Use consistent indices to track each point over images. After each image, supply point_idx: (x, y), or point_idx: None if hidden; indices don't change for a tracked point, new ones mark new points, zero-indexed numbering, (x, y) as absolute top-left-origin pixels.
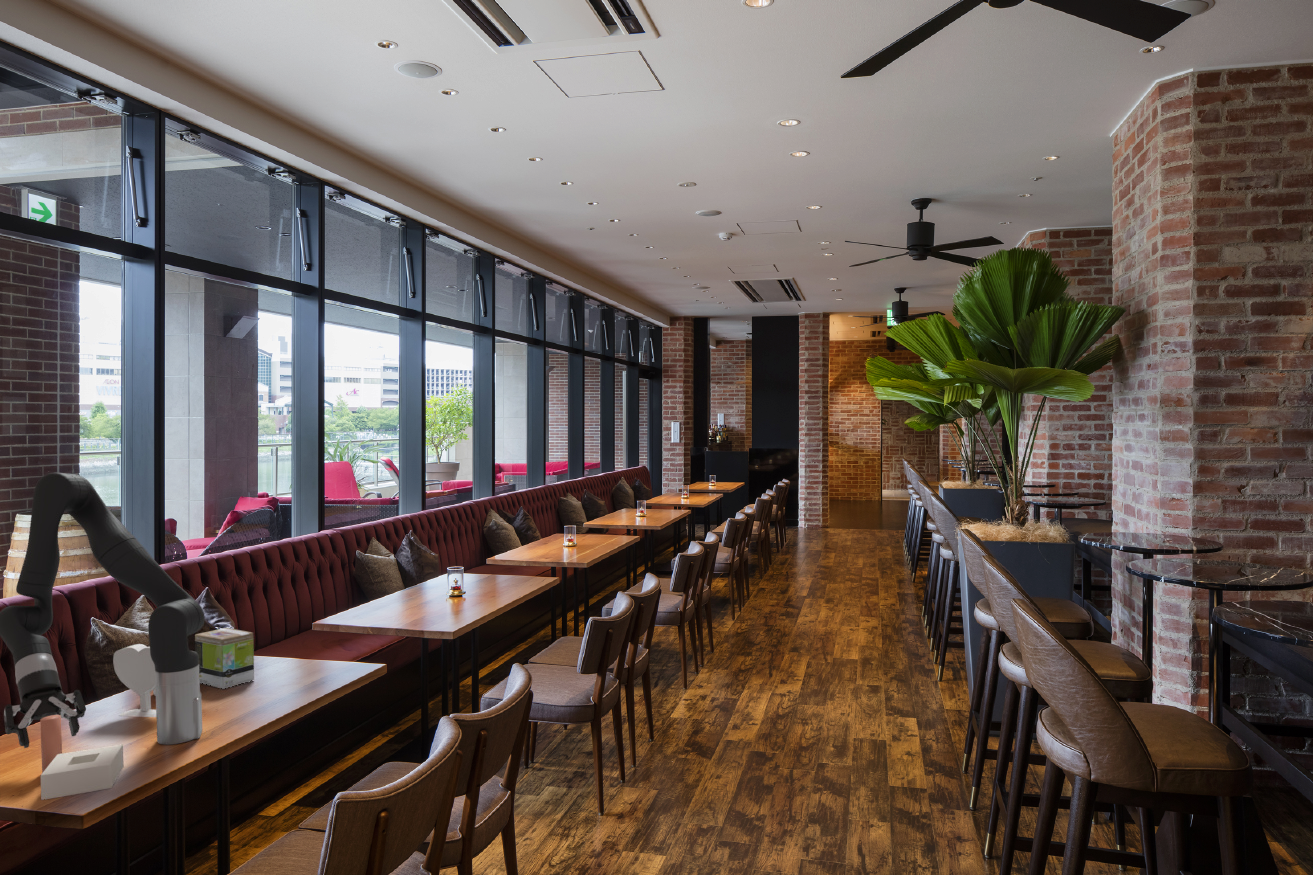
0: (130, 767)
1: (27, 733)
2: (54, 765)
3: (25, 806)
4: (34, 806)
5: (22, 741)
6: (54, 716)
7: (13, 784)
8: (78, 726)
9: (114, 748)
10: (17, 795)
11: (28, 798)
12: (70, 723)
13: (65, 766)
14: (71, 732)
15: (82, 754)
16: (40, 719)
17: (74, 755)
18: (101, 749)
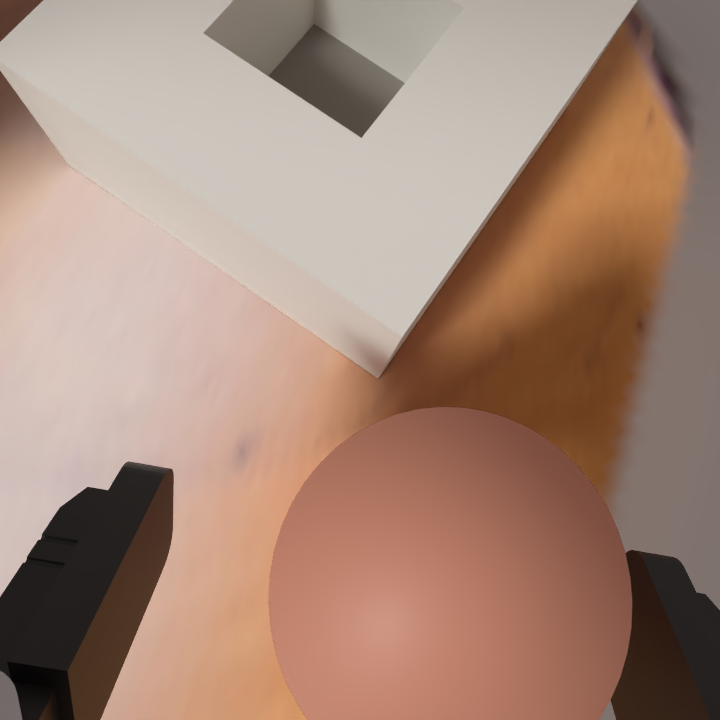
0: None
1: (691, 667)
2: (517, 91)
3: (643, 98)
4: (614, 57)
5: (705, 610)
6: (371, 615)
7: None
8: (67, 518)
9: (86, 22)
10: (628, 298)
11: (602, 193)
12: (106, 637)
13: (476, 2)
14: (153, 572)
15: (291, 130)
16: (616, 679)
17: (338, 164)
18: (150, 97)
